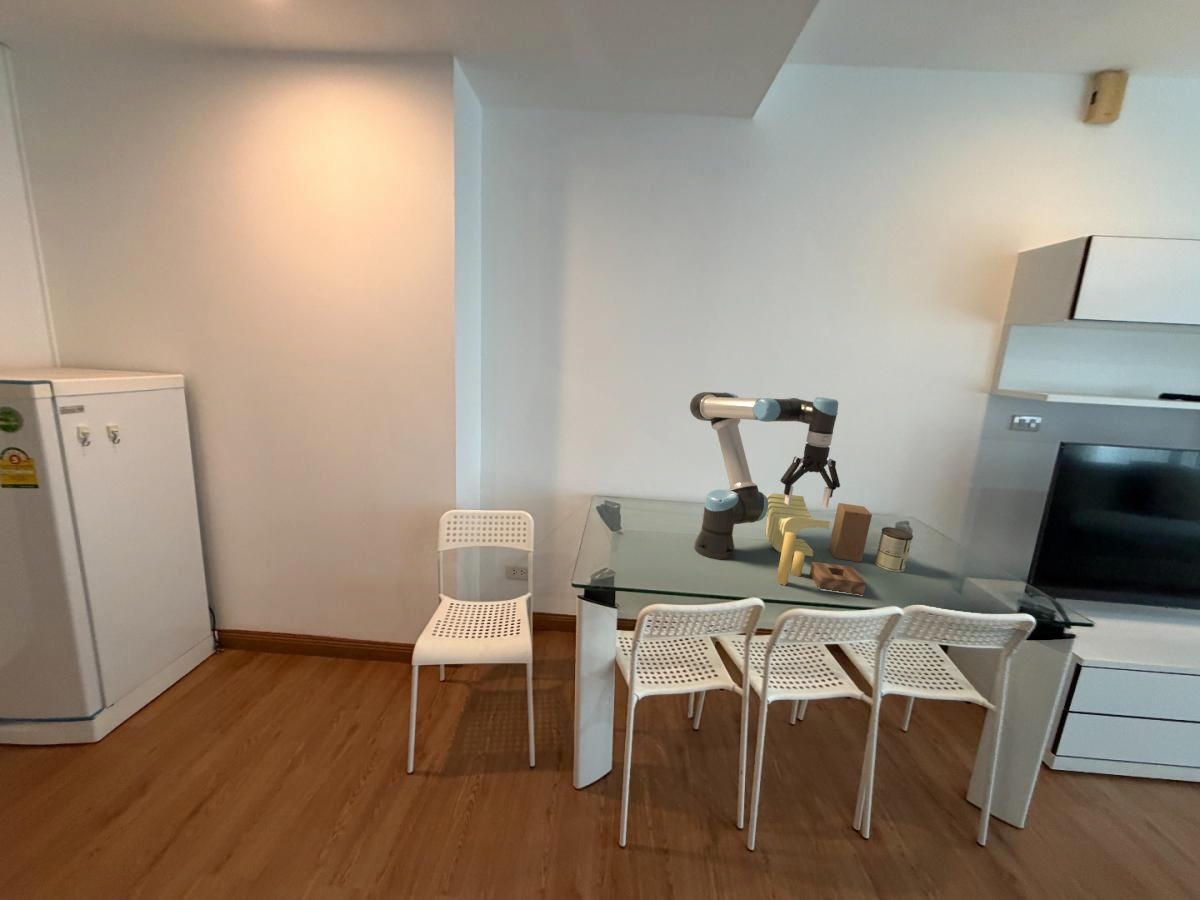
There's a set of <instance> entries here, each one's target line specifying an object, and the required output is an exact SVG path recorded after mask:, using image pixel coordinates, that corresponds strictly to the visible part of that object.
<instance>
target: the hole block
mask: <svg viewBox="0 0 1200 900" xmlns="http://www.w3.org/2000/svg"><path fill="white" fill-rule="evenodd" d="M809 576H810V578H811V577H812V578H813V579H812V578H811V579H812V580H814V581H815V582H814V581H813V582H814V584H815V583H816V584H817V586H818V587H819V588H820V589H826V590H832V591H839V592H846V593H852V594H859V595H863V596H864V594H865V589H866V586H867V581H865V580H864V578H863V577H862V576H861V575H860V574H859V573H858V571H857V570H856V569H855V568H854V567H853V566H846V565H840V564H835V563H834V564H832V563H825V562H816V561H811V565H810V570H809ZM816 584H815V585H816ZM817 586H816V587H817ZM818 587H817V588H818Z"/></svg>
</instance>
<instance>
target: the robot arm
mask: <svg viewBox="0 0 1200 900" xmlns="http://www.w3.org/2000/svg"><path fill="white" fill-rule="evenodd" d="M689 409H690V410H689V411H690V412H691V415H692V416H693V417H694V418H695V419H697V420H699V421H705V422H710V424H711V428H712V429H713V430H715V431H716V434H717V436H718V442H719V445H720V449H721V453H722V457H723V461H724V465H725V469H726V475H727V478H728V482H729V488H728V489H714V490H712V491H710V492H708V493H707V494H706V497H705V498H706V499H705V501H704V508H703V515H702V516H703V517H702V523H701V529H700V532H699V534H698V535H697V537H696V539H695V540H694V541H695V542H694V548H693V549H694V550H695V551H696V553H699V554H700V555H702V556H704V557H707V558H712V559H717V560H726V559H727V560H728V559H730V558H733V557H734V556H735V551H736V550H735V549H736V547H735V542H734V541H735V540H734V536H733V535H734V533H733V532H734V528H735V527H734V526H735V525H741V524H748V523H749V524H752V523H755V522H760V521H762V520H763V519H764V518H765V517H767V512H768V500H767V497H766V496H767V495H766V494H764V493H763V492H762V491H759V487H758V485H757V484H756V483H754V482H753V480H752V476H751V473H750V472H751V471H750V468H749V464H748V460H747V457H746V453H745V449H744V445H743V442H742V441H743V440H742V437H741V433H740V429H739V424H741V420H751V421H759V422H768V423H769V422H798V423H803V424H806V425H808V430H807V436H806V440H805V442H807V443H805V445H804V451H803V457H797V456H794V457H793V460H792V463H791V464H790V465H789V467H788V469H787V470H786V471H785V473H784V474H783V476H781V479H780V480H779V481H780V482H781V483H782V484H783V485H784V490H783V494H785V495H786V496H785V501H784V503H786V504H787V505H790V503H791V497H792V495H793V491H794V486H793V485H794V484H795V483H796V482H797V481H798V480H799V479H801V478H802V476H804V475H805V474H807V473H808V472H809V473H816V474H817V473H819V474H820V475H821V477H822V479H823V481H824V482H825V484H826V485H827V486H825V487H824V491H823V495H822V501H821V506H822V507H824V508H828V507H829V502H830V498H832V497H833V493H834V490H836V489H837V488H840V487H841V484H840V478H839V476H838V472H837V468H836V465H837V462H836V461H835V460H834V459H832V458H829V459H828V457H829V454H830V453H829V452H830V450H831V448H830V447H829V446H831V443H832V438H833V434H834V428H835V424H836V420H837V416H838V412H839V411H838V410H839V401H838V400H837V399H835V398H829V397H828V398H827V397H820V396H819V397H818V396H817V397H815V398H814V400H813V401H808V400H804V399H800V398H799V397H787V398H771V397H770V398H768V397H767V398H766V397H765V398H753V397H739V396H738V395H737V394H735V393H732V392H731V393H730V392H727V391H725V392H724V391H723V392H713V391H711V392H709V391H704V392H699V393H697V394H696V395H694V396H693V397H692V399H691V401H690V403H689ZM800 465H801V466H800ZM826 466H827V467H828V470H829V474H828V472H827V470H826V468H825V467H826ZM829 475H830V476H829Z"/></svg>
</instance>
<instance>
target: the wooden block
mask: <svg viewBox="0 0 1200 900" xmlns="http://www.w3.org/2000/svg"><path fill="white" fill-rule="evenodd" d="M872 516H873V515H872V513H871V512H870V511H869V510H868V509H867V508H866V507H865V506H863V505H862V506H861V505H856V504H849V503H841V502H838V504H837V507H836V513H835V516H834V517H835V518H834V521H833V527H832V532H831V537H830V540H829V547H828V549H829V551H830V553H831V555H832V556H833V557H834V558H835V559H840V560H845V561H850V562H857V563H862V561H863V558H864V557H863V556H864V553H865V552H864V551H865V548H866V544H867V539H868V538H867V537H868V534H869V529H870V525H871V521H872Z"/></svg>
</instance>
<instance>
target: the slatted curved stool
mask: <svg viewBox="0 0 1200 900" xmlns="http://www.w3.org/2000/svg"><path fill="white" fill-rule="evenodd" d="M765 496H766V497H767V500H768V512H767V513H766V517H767V518H766V528H765V529H766V530H765V536H766V538H767V540H769V542H770V544H771V545H772V546H773V548H774V549H775V551H777V552H778V553H780V554H781V553H782V547H783V542H784V536H785V532H793V533H795V534H796V535H797V533H798V532H799V531H801V530H804V529H814V528H817V529H818V528H819V529H829V527H830V523H831V521H829V520H821V519H820V520H819V519H815V518H813V516H811V514H810V511H809V510H808V507H807V506H806V505H807V504H806V502H805V499H804V496H802V495H793V494H792V497H791V503H790V505H787V504H786V503H784V501H785V496H786V495H785V494H784V493H775V492H771V493H769V494H767V495H765ZM795 551H800V552H803V553H805V556H807V557H809V556H810V557H814V550H813V548H811V546H810V545H809V544H808V543H807V541H806V540H805V539H801V538H796V541H795V546H794V551H793V555H794V552H795Z"/></svg>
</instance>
